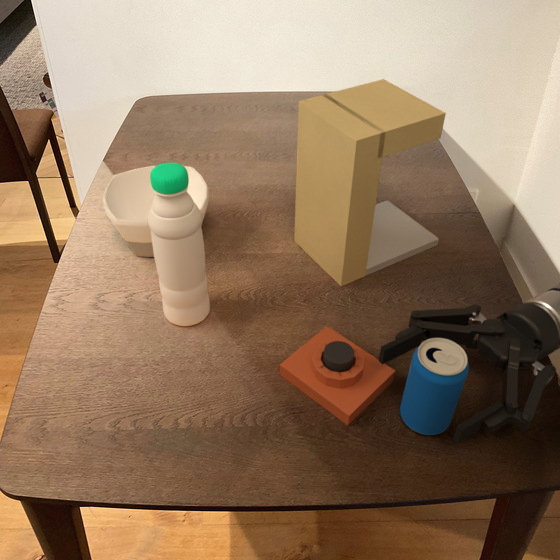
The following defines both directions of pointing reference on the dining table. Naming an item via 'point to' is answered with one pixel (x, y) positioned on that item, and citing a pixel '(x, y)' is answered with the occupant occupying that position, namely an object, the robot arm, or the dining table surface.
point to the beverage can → (434, 386)
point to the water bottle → (178, 246)
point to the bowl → (143, 205)
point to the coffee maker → (357, 177)
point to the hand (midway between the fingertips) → (416, 392)
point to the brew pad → (337, 377)
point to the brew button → (338, 356)
